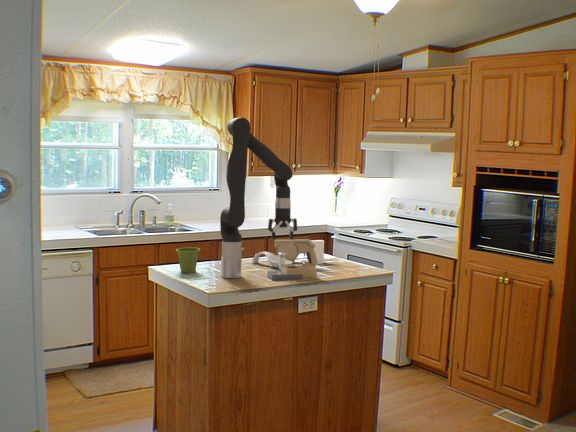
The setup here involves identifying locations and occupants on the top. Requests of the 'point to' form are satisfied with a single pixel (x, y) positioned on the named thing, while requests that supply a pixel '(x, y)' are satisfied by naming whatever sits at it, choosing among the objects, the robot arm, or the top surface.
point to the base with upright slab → (319, 250)
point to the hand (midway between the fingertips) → (282, 239)
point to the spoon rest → (271, 259)
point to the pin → (281, 260)
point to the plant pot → (188, 259)
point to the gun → (297, 250)
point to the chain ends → (294, 272)
